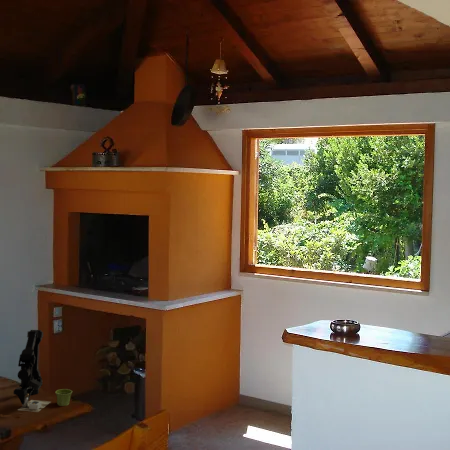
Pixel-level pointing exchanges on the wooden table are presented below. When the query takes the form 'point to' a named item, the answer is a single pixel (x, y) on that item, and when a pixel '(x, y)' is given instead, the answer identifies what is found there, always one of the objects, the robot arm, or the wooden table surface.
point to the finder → (35, 405)
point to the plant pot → (63, 397)
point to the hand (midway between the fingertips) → (25, 402)
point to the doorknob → (25, 402)
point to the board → (43, 404)
